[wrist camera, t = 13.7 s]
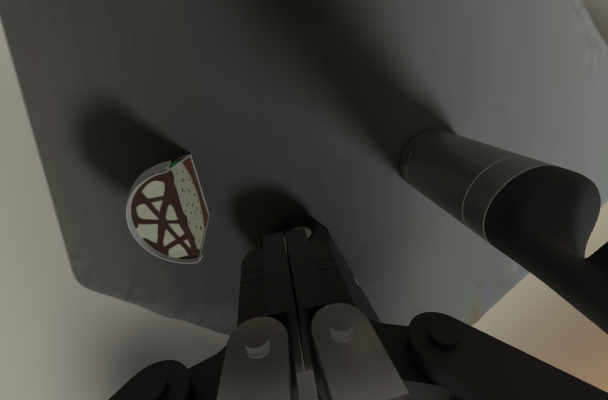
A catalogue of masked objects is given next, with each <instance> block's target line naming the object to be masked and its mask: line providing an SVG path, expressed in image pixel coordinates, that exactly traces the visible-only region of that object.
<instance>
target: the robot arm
mask: <svg viewBox="0 0 608 400" xmlns="http://www.w3.org/2000/svg"><path fill="white" fill-rule="evenodd" d="M400 171H401V175H402V176H403V178H404V180H405V181H406V182H407V183H408V184H410V185H411V186H412V187H414V188H415V189H416V190H418V191H419V192H420V193H422V194H423V195H424V196H426V197H427V198H429V199H430V200H431V201H433V202H434V203H435V204H437V205H438V206H439V207H441V208H442V209H443V210H445V211H446V212H448V213H449V214H450V215H452V216H453V217H454V218H456V219H457V220H458V221H460V222H461V223H462V224H464V225H465V226H466V227H468V228H469V229H471V230H472V231H473V232H475V233H476V234H478V235H479V236H480V237H482V238H483V239H484V240H486V241H487V242H488V243H490V244H491V245H492V246H494V247H495V248H497V249H498V250H499V251H501V252H502V253H504V254H505V255H507V256H508V257H509V258H511V259H512V260H514V261H515V262H517V263H518V264H519V265H521V266H522V267H524V268H525V269H526V270H528V271H529V272H531V273H532V274H533V275H534V276H536V277H537V278H539V279H540V280H541V281H543V282H544V283H545V284H546V285H548V286H549V287H550V288H551V289H553V290H554V291H555V292H556V293H558V294H559V295H560V296H561V297H562V298H564V299H565V300H566V301H567V302H569V303H570V304H571V305H572V306H574V307H575V308H576V309H577V310H579V311H580V312H581V313H582V314H583V315H585V316H586V317H587V318H588V319H590V320H591V321H592V322H593V323H595V324H596V325H597V326H598V327H599V328H601V329H602V330H603V331H604V332H606V333H607V334H608V242H607V243H605V244H604V245H603V246H602V247H600V248H599V249H598V250H597V251H596V252H594V254H592V255H591V256H589V257H588V258H584V256H585V249H586V244H587V242H588V239H589V237H590V235H591V232H592V230H593V228H594V226H595V223H596V221H597V218H598V215H599V212H600V204H601V199H600V194H599V191H598V188H597V187H596V185H595V184H594V183H593V182H592V181H591V180H590V179H588V178H587V177H585V176H584V175H582V174H579V173H577V172H574V171H571V170H568V169H564V168H561V167H558V166H554V165H551V164H548V163H545V162H542V161H539V160H535V159H532V158H529V157H525V156H522V155H519V154H516V153H513V152H510V151H506V150H503V149H500V148H497V147H494V146H491V145H487V144H484V143H481V142H478V141H475V140H472V139H469V138H465V137H462V136H460V135H456V134H453V133H450V132H447V131H444V130H439V129H431V130H427V131H424V132H422V133H420V134H418V135H417V136H415V137H414V138H413V139H412V140H411V141H410V142H409V143H408V144H407V146H406V147H405V149H404V151H403V153H402V156H401V160H400ZM262 238H263V249H260V250H254V251H249V252H248V253H247V255H246V256H245V258H244V259H243V261H242V268H241V281H240V283H241V285H240V295H239V308H238V321H237V328H236V329H235V330H234V331H233V333H232V334H231V336H230V338H229V340H228V343H227V345H226V346H225V347H224V348H223V349H222V350H221V351H220V352H218V353H217V354H216V355H214V356H212V357H210V358H209V359H206V360H205V361H203V362H201V363H198V364H196V365H194V366H192V367H190V368H188V369H187V368H186V367H185V366H184V365H183V364H182V363H180V362H178V361H174V360H165V361H160V362H157V363H154V364H152V365H149V366H148V367H146V368H144V369H143V370H141V371H140V372H138V373H137V374H136V375H135V376H134V377H132V378H131V379H130V380H129V381H128V382H127V383H126V384H125V385H124V386H123V387H122V388H121V389H120V390H119V391H117V392H116V393H115V394H114V395H113V396H112V397H111V398H110V399H109V400H298V399H299V393H298V385H297V377H296V373H298V372H302V371H303V369H302V360H301V351H300V342H301V348H302V354H303V360H304V366H305V371H307V370H312V369H313V372H314V377H315V382H316V389H317V399H318V400H608V393H607V392H605V391H603V390H601V389H599V388H597V387H595V386H593V385H591V384H589V383H586V382H584V381H582V380H580V379H578V378H576V377H574V376H572V375H570V374H568V373H566V372H564V371H562V370H560V369H558V368H556V367H554V366H552V365H550V364H547V363H545V362H543V361H541V360H539V359H537V358H535V357H533V356H531V355H529V354H527V353H525V352H523V351H521V350H519V349H517V348H514V347H513V346H511V345H508V344H506V343H504V342H502V341H500V340H498V339H496V338H494V337H492V336H490V335H488V334H486V333H484V332H481V331H480V330H478V329H476V328H474V327H472V326H469V325H467V324H465V323H463V322H461V321H459V320H457V319H455V318H453V317H451V316H448V315H446V314H442V313H437V312H425V313H421V314H419V315H417V316H415V317H414V318H413V319H412V320H411V322H410V324H409V326H401V325H392V324H384V323H380V322H376V321H374V320H372V319H370V318H368V317H367V316H366V315H365V314H364V313H363V312H362V311H361V310H360V309H358V308H357V307H356V306H355V304H354V302H353V300H352V297H351V295H350V292H349V290H348V288H347V285H346V283H345V281H344V278H343V276H342V273H341V271H340V269H339V266H338V264H337V262H336V260H335V257H334V255H333V252H332V250H331V248H330V247H329V246H328V245H327V244H325V243H324V242H323V241H322V240H319V241H313V242H309V241H308V237H307V234H306V231H305V229H298V230H291V231H285V241H286V248H285V242H284V236H283V232H278V233H271V234H264V235H262ZM286 249H287V254H286ZM287 257H288V260H287ZM297 323H298V325H297ZM298 329H299V334H298ZM299 336H300V342H299Z"/></svg>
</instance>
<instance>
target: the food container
mask: <svg viewBox="0 0 608 400" xmlns="http://www.w3.org/2000/svg"><path fill="white" fill-rule="evenodd" d="M126 219H127V224H128V227H129V230H130V232H131V233H132V235H133V237H134V238H135V239H136V241H137V242H138V243H139V244H140V245H141V246H142V247H143V248H144V249H145V250H147V251H148V252H150V253H151V254H153V255H155V256H157V257H159V258H161V259H164V260H167V261H171V262H175V263H199V261H200V260H201V258H202V256H203V255H201V251H202V247H203V242H204V238H205V233H206V229H207V224H208V220H209V211H208V208H207V205H206V202H205V198H204V195H203V192H202V188H201V185H200V182H199V179H198V175H197V172H196V169H195V165H194V162H193V159H192V156H191V154H188V155H184V156H181V157H179V158H178V159H176V160H174V161H173V162H171V161H166V162H162V163H159V164H157V165H155V166H152V167H151V168H149V169H148V170H146V171H145V172H143V173H142V174H141V175H140V176H139V177H138V178H137V180H136V181H135V182H134V184H133V186H132V188H131V190H130V192H129V195H128V198H127V202H126Z"/></svg>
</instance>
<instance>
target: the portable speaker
mask: <svg viewBox="0 0 608 400" xmlns="http://www.w3.org/2000/svg"><path fill="white" fill-rule="evenodd" d="M298 229H305V231H306V234H307V237H308V241H309V242H313V241H319V240H322V241H323V242H324V243H325V244H327V245H328V246H329V247H330V248H331V250H332V252H333V255H334V257H335V260H336V262H337V264H338V266H339V269H340V271H341V273H342V276H343V278H344V281H345V283H346V285H347V288H348V290H349V292H350V295H351V297H352V300H353V302H354V304H355V306H356V307H357V308H358V309H360V310H361V311H362V312H363V313H364V314H365V315H366V316H367V317H368V318H370V319H372V320H374V321H376V322H379V318H378V316H377V314H376V312H375V311H374V310H373V308H372V306H371V304H370V303H369V301H368V299H367V297H366V296H365V294H364V292H363V291H362V289H361V287H360V285H359V284H358V281H357V280H356V278H355V276H354V275H353V273H352V272H351V270H350V268H349V266H348V265H347V263H346V261H345V259H344V258H343V256H342V254H341V253H340V251H339V249H338V247H337V246H336V244H335V242H334V240H333V239H332V237H331V235H330V234H329V231H328V229H327V228H326V227H325V226H323V225H322V224H321V223H319V222H318V221H317V220H315V219H314V218H312V217H310V216H299V217H295V218H292V219H290V220H288V221H286V222H285V223H283V224H282V225H280V226H279V227H278V228H277V229H275V230H274V232H273V233H278V232H283V236H284V242H285V248H286V241H285V231H291V230H298ZM286 254H287V249H286ZM287 260H288V257H287Z"/></svg>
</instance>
